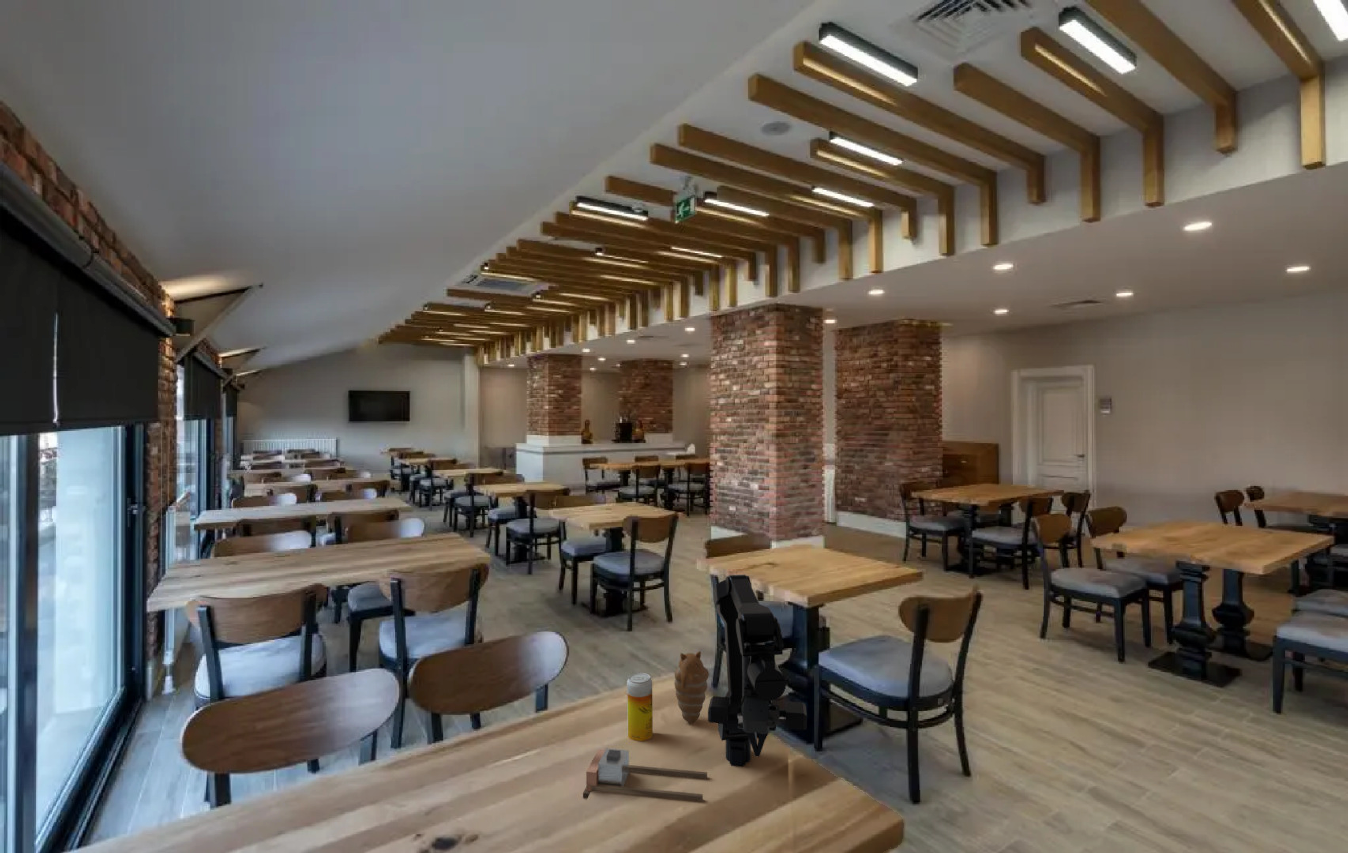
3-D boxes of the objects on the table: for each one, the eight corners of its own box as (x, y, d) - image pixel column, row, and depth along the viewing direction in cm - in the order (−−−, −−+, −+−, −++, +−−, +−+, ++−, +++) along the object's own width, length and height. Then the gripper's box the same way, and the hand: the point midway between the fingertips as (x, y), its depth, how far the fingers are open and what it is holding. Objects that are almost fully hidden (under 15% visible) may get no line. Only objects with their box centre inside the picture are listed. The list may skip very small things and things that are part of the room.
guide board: (597, 769, 138) (596, 747, 138) (709, 780, 134) (709, 757, 133) (583, 797, 128) (582, 773, 128) (704, 810, 124) (704, 785, 123)
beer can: (652, 745, 147) (651, 683, 147) (626, 745, 147) (625, 683, 147) (653, 732, 153) (652, 672, 153) (628, 732, 154) (628, 672, 153)
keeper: (606, 771, 135) (606, 744, 135) (628, 773, 134) (628, 746, 134) (598, 787, 129) (598, 760, 129) (621, 790, 129) (621, 762, 128)
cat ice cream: (678, 731, 154) (677, 659, 153) (670, 716, 161) (670, 647, 161) (712, 727, 156) (712, 655, 155) (703, 712, 163) (702, 644, 163)
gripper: (704, 692, 115) (704, 775, 115) (808, 699, 111) (808, 785, 112) (710, 666, 126) (711, 743, 126) (805, 672, 122) (805, 751, 123)
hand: (757, 755), depth 121 cm, fingers closed
